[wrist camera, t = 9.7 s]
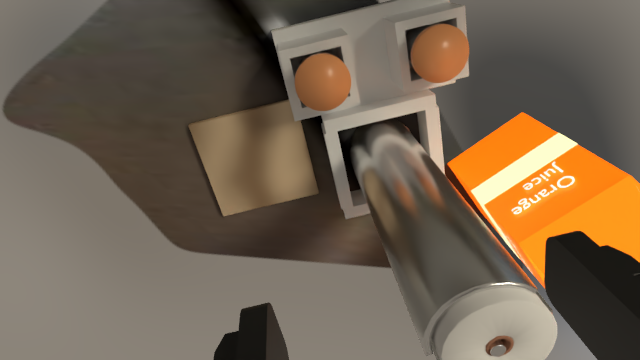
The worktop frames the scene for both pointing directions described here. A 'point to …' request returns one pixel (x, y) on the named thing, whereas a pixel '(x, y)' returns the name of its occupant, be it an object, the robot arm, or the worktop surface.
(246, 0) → the worktop surface
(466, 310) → the silver metal cylinder
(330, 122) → the housing
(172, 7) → the worktop surface
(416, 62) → the plunger
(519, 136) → the orange juice
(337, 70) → the plunger
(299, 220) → the worktop surface
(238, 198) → the mat
